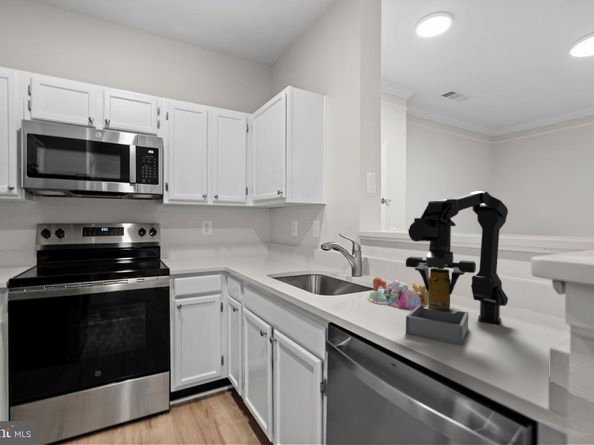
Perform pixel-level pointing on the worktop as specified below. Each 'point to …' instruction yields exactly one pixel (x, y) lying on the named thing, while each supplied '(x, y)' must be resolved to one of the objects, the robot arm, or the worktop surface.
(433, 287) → the condiment
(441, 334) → the bin
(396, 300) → the colourful coral reef
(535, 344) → the worktop surface
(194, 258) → the worktop surface
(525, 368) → the worktop surface
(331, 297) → the worktop surface
